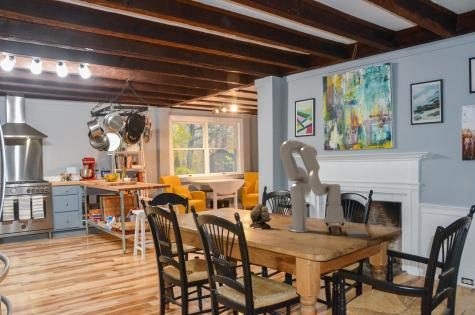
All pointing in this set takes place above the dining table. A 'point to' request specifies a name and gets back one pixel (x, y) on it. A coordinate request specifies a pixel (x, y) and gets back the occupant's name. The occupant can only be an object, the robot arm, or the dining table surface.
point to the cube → (335, 230)
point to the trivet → (357, 234)
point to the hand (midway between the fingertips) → (335, 233)
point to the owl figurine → (260, 217)
